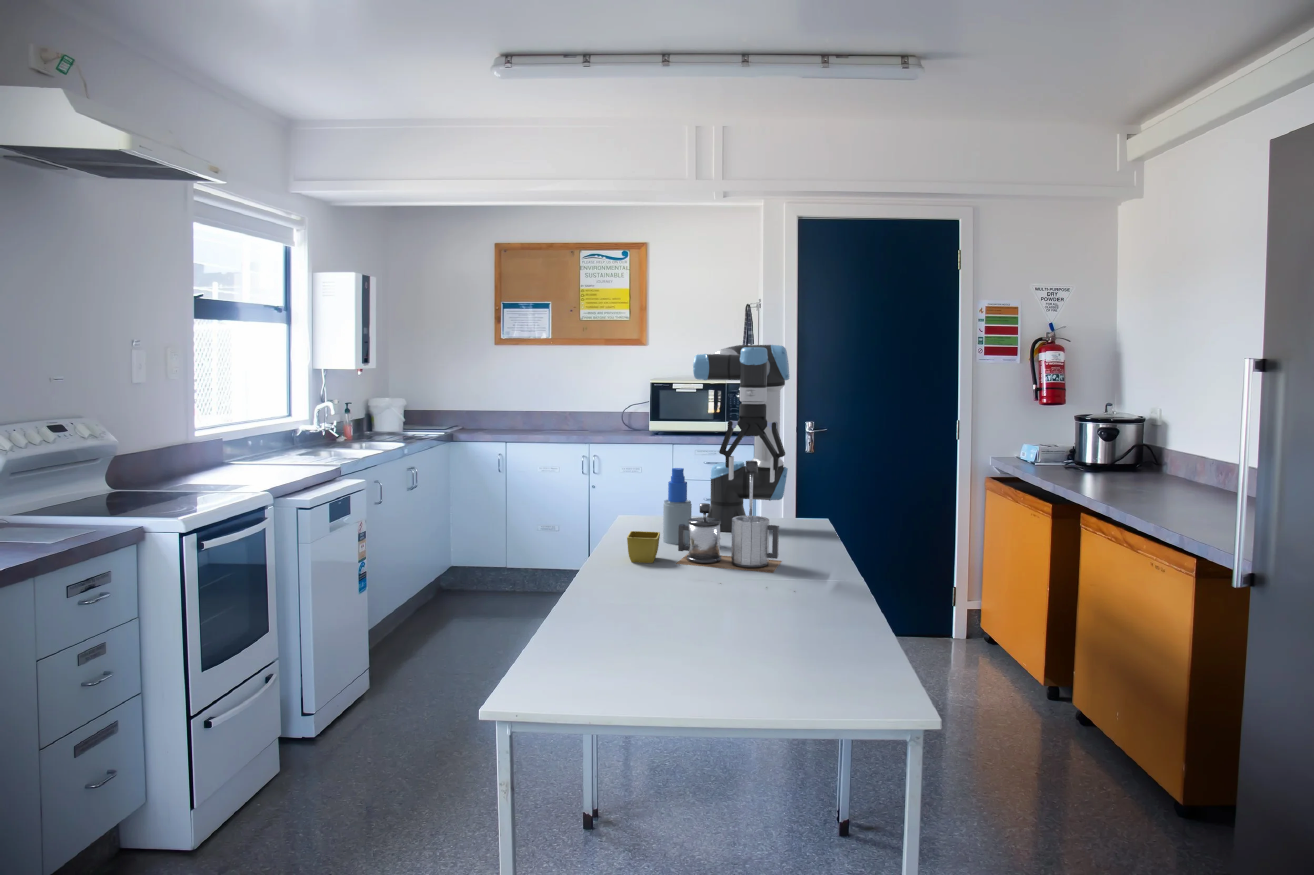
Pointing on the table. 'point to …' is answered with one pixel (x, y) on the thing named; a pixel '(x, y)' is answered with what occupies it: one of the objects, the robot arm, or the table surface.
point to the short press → (701, 538)
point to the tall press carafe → (753, 542)
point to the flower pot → (643, 546)
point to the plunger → (751, 483)
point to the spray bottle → (676, 508)
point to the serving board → (727, 564)
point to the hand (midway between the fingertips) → (751, 480)
